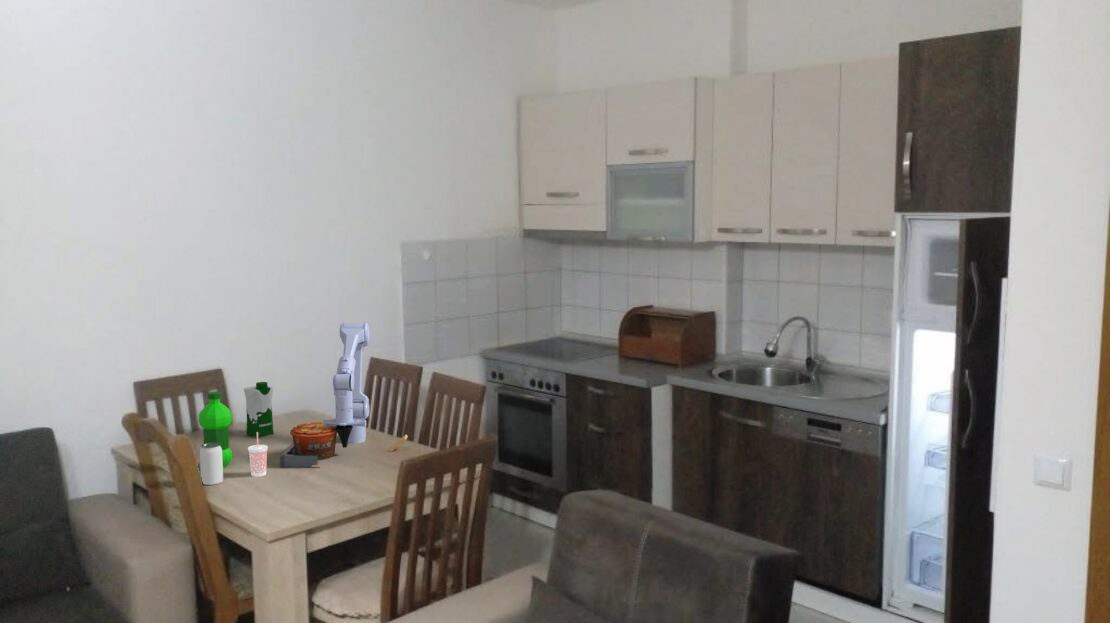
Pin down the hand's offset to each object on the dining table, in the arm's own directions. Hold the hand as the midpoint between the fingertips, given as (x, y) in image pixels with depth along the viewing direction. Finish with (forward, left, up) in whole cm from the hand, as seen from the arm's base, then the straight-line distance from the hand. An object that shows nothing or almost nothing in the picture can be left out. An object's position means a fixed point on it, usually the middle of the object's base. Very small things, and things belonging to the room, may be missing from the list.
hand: (345, 446), depth 300 cm
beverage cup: (+18, -24, -4) cm, 30 cm away
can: (+26, -36, -4) cm, 45 cm away
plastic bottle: (+10, -40, -4) cm, 41 cm away
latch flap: (-7, +17, -1) cm, 19 cm away
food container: (0, -10, -4) cm, 11 cm away
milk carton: (-30, -38, -4) cm, 49 cm away
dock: (0, -13, -4) cm, 14 cm away
